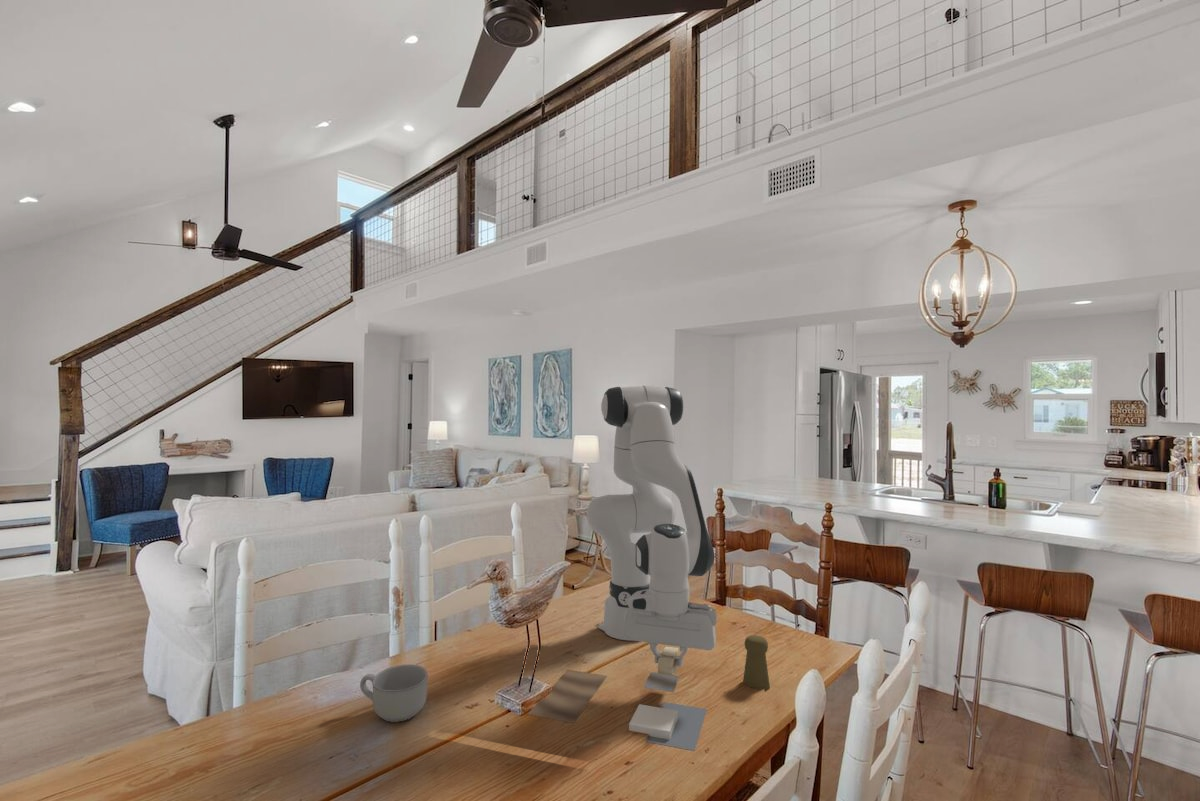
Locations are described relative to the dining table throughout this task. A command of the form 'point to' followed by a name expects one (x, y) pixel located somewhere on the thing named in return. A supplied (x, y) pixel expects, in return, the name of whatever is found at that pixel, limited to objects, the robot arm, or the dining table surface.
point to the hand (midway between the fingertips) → (668, 664)
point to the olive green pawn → (756, 663)
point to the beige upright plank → (664, 672)
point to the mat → (683, 727)
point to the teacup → (397, 691)
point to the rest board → (568, 696)
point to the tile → (654, 721)
